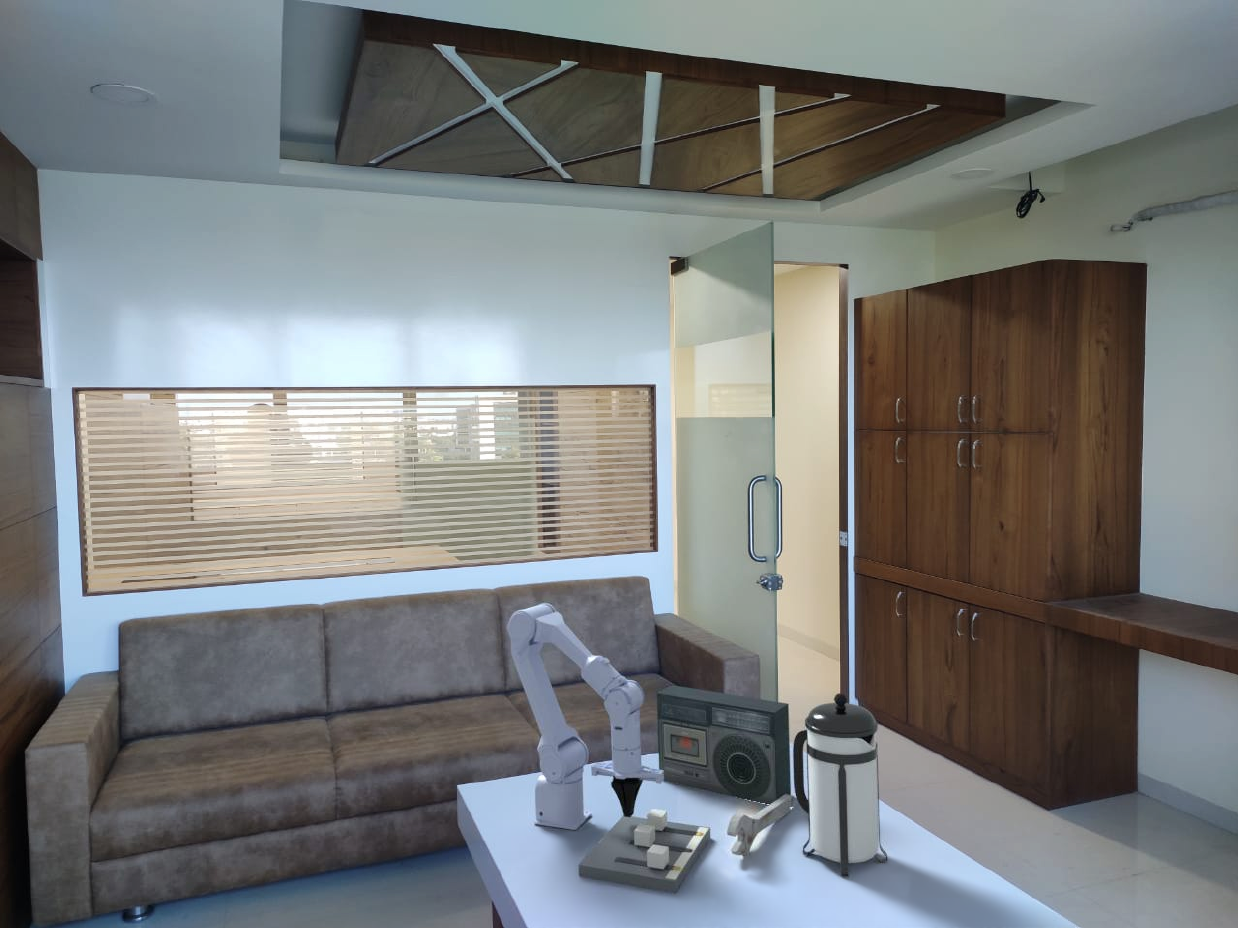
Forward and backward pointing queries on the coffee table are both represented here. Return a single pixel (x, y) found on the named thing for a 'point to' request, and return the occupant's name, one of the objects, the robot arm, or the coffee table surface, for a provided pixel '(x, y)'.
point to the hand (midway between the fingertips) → (628, 814)
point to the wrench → (756, 823)
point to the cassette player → (724, 743)
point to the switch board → (645, 855)
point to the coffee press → (840, 782)
